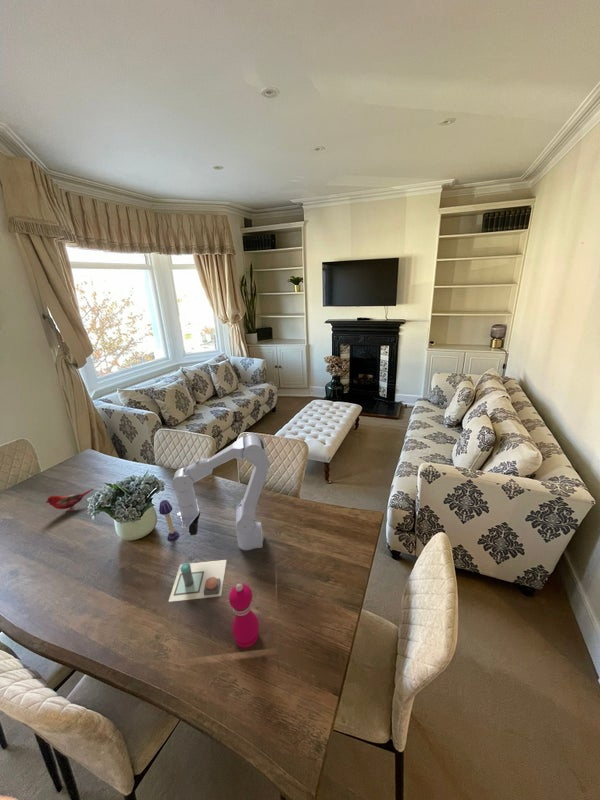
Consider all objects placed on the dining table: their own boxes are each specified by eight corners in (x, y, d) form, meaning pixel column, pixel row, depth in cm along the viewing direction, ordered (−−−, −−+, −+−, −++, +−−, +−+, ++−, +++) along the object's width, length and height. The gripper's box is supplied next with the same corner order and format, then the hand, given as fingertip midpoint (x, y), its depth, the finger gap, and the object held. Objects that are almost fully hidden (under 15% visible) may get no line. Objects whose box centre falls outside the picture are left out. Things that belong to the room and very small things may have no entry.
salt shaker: (194, 578, 108) (191, 562, 105) (193, 586, 105) (189, 570, 102) (185, 579, 107) (181, 563, 105) (183, 587, 104) (179, 571, 102)
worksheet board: (226, 561, 114) (226, 556, 114) (221, 598, 101) (220, 592, 101) (180, 566, 114) (179, 561, 113) (169, 604, 100) (167, 598, 100)
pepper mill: (235, 626, 93) (226, 574, 86) (260, 623, 93) (253, 571, 86) (232, 653, 86) (222, 599, 79) (259, 650, 87) (252, 596, 80)
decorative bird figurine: (50, 516, 142) (43, 497, 139) (96, 498, 153) (90, 480, 149) (51, 519, 140) (43, 500, 137) (97, 501, 151) (91, 483, 147)
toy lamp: (174, 542, 124) (166, 506, 119) (163, 540, 125) (154, 505, 120) (181, 533, 129) (173, 498, 123) (170, 531, 130) (162, 497, 124)
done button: (219, 582, 105) (217, 576, 104) (217, 592, 102) (216, 586, 101) (207, 583, 105) (206, 577, 104) (205, 593, 102) (204, 587, 101)
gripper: (181, 490, 117) (187, 520, 122) (169, 517, 103) (177, 550, 108) (200, 488, 117) (206, 518, 122) (191, 515, 104) (198, 548, 109)
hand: (194, 533), depth 115 cm, fingers closed
